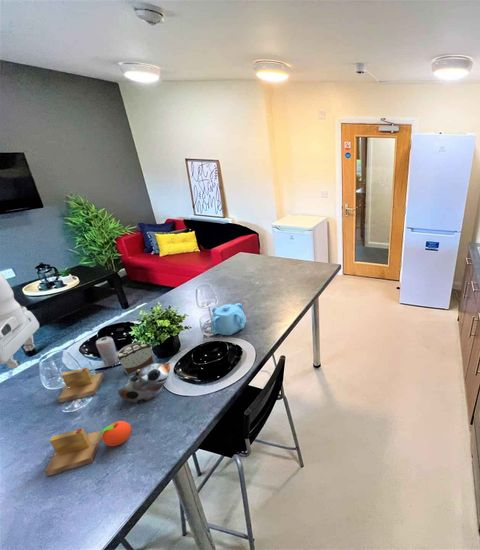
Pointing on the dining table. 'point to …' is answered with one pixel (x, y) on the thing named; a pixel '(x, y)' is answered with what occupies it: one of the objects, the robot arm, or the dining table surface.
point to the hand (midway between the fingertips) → (23, 357)
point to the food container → (135, 357)
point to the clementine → (116, 433)
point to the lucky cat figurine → (145, 383)
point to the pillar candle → (107, 350)
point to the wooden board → (75, 456)
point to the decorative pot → (228, 319)
